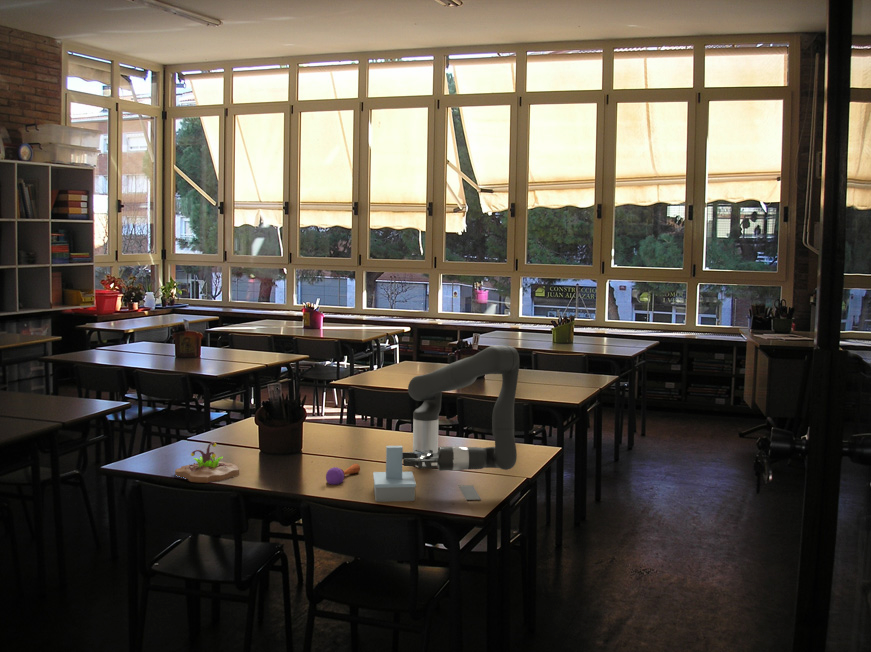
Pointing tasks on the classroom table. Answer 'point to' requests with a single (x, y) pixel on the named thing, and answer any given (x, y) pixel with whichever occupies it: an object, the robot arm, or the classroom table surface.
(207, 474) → the plant
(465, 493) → the rubber mat
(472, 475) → the classroom table surface
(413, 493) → the parts tub
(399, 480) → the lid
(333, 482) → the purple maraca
